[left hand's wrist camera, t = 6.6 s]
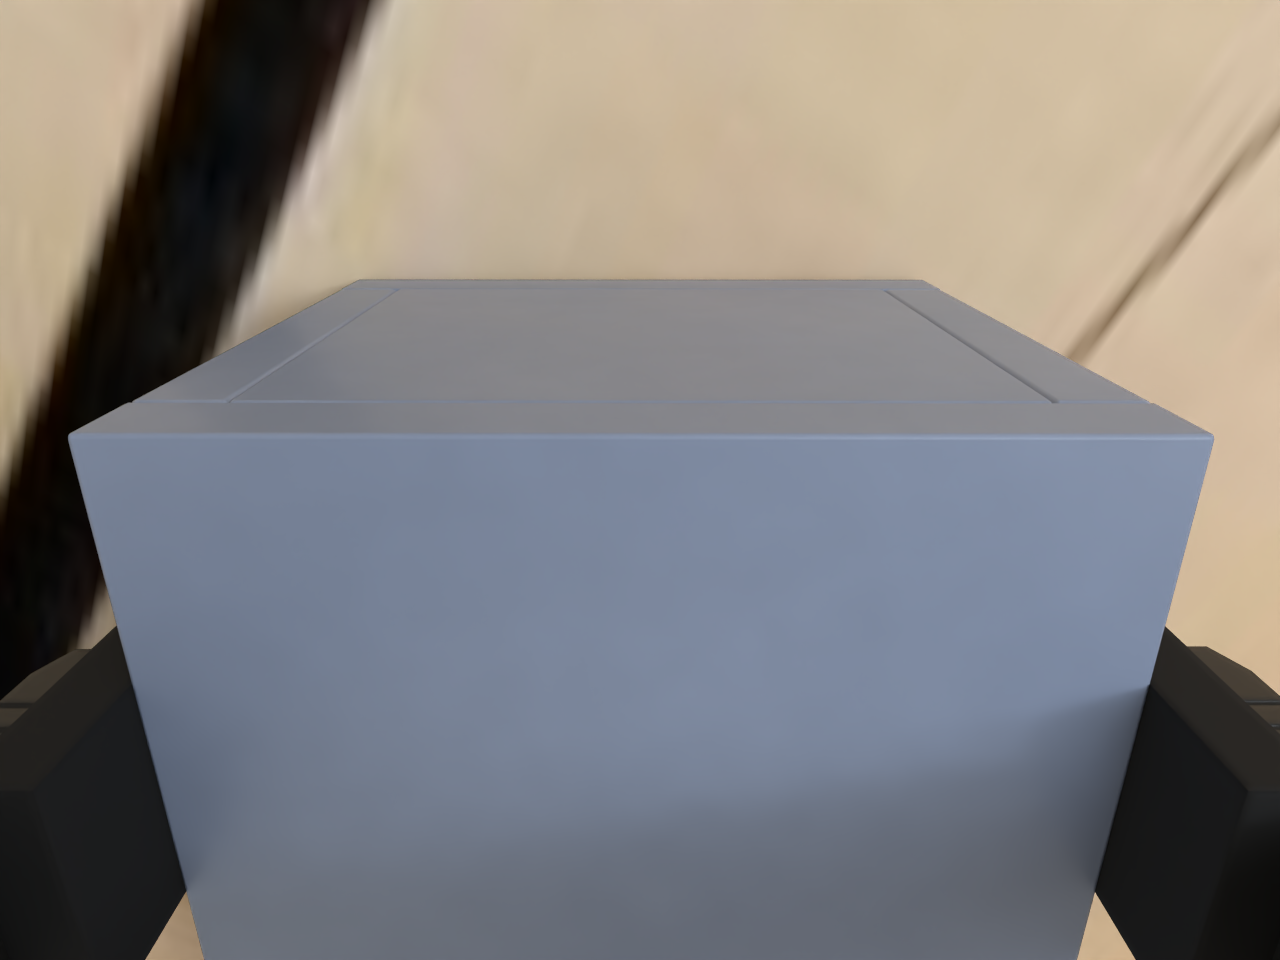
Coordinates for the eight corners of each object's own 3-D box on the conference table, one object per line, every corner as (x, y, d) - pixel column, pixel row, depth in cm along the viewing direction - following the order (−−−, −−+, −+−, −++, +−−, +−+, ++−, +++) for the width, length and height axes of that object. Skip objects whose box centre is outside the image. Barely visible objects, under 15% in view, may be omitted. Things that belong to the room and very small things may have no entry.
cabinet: (824, 1097, 23) (915, 1576, 16) (455, 1096, 23) (363, 1576, 16) (924, 279, 15) (1218, 434, 7) (357, 279, 15) (62, 433, 7)
